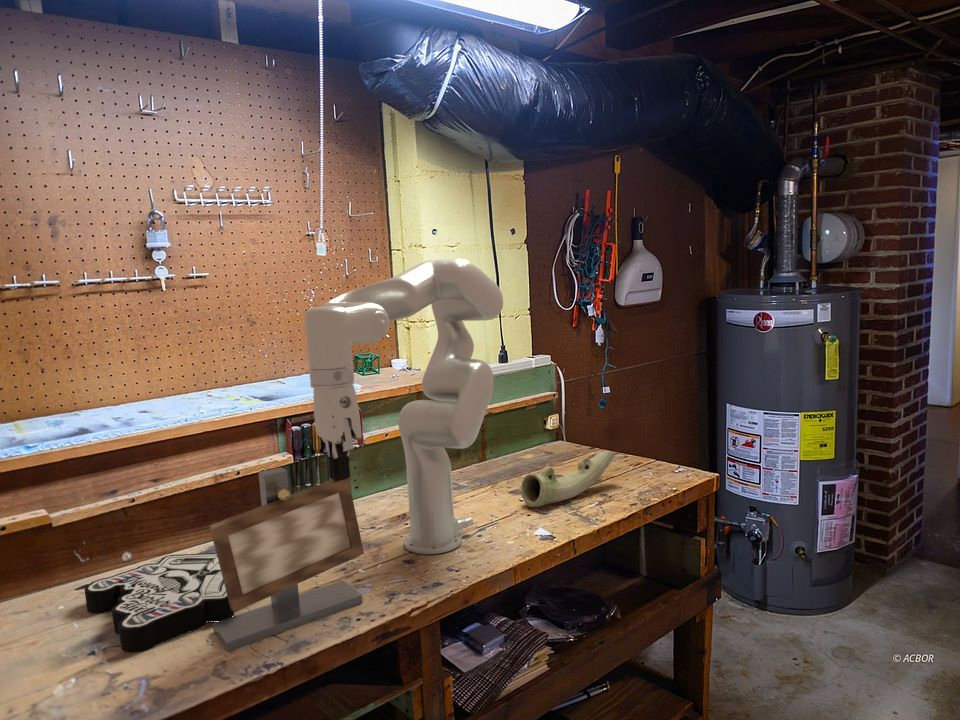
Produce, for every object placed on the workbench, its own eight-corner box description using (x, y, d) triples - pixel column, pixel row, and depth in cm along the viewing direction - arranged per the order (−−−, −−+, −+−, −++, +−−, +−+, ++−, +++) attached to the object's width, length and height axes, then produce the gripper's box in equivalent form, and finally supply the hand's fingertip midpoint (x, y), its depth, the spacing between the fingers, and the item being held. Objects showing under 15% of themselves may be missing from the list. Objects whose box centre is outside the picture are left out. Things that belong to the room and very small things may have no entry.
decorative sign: (78, 584, 129) (232, 534, 149) (81, 606, 129) (234, 554, 150) (127, 636, 109) (297, 570, 129) (131, 662, 109) (299, 593, 130)
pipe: (541, 514, 163) (540, 474, 161) (517, 506, 169) (516, 467, 168) (617, 486, 180) (616, 449, 179) (593, 479, 187) (592, 443, 185)
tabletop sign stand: (343, 587, 130) (332, 455, 127) (362, 602, 124) (351, 464, 120) (213, 631, 117) (197, 484, 113) (227, 651, 110) (210, 496, 107)
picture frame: (359, 550, 127) (343, 475, 124) (364, 553, 126) (348, 477, 122) (230, 608, 114) (209, 525, 111) (234, 612, 112) (212, 529, 109)
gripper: (370, 378, 116) (378, 482, 119) (334, 370, 128) (341, 465, 131) (329, 384, 112) (338, 492, 114) (295, 375, 124) (304, 473, 126)
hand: (340, 477), depth 123 cm, fingers closed
